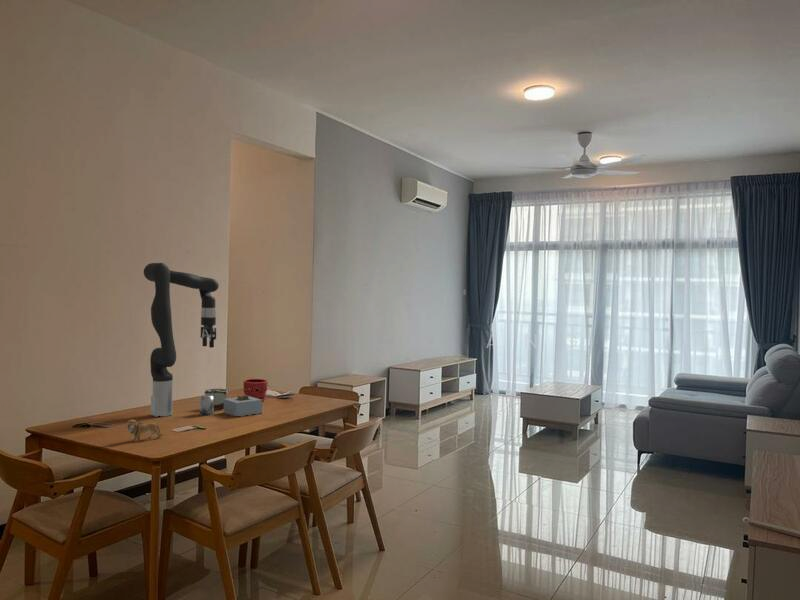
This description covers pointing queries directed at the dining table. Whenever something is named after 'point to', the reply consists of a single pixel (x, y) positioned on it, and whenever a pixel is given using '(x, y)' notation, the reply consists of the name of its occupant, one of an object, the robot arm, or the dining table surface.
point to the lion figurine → (142, 429)
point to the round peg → (206, 404)
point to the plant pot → (255, 388)
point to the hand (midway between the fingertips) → (208, 346)
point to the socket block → (242, 406)
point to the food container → (217, 397)
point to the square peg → (243, 397)
